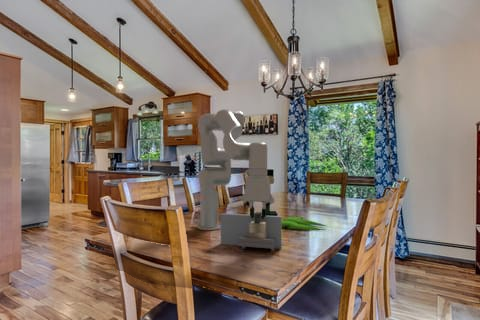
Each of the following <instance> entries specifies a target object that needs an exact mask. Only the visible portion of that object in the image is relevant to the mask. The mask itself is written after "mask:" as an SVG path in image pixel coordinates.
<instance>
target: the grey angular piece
mask: <svg viewBox="0 0 480 320" xmlns="http://www.w3.org/2000/svg"><path fill="white" fill-rule="evenodd" d="M251 221H255V214H254V218H253V219H252V218H251V216H250V214H241V213H223V212H222V213H220V225H221V228H220V245H229V246H238V247H241V249H243V250H245V249H246V248H259V249H260V248H262V249H270V251H271V252H275V249H280V250H281V249H282V248H283V245H284V242H283V241H282V228H283V227H282V221H283V219H282V216H281V215H277V216H266V217H265V218H264V219H262V214H261V221H265V222H266V239H260V238H249V223H250V222H251Z"/></svg>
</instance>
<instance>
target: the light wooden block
mask: <svg viewBox="0 0 480 320" xmlns="http://www.w3.org/2000/svg"><path fill="white" fill-rule="evenodd" d="M254 215H255V221H251V222H250V223H249V238H260V239H266V222H265V221H261V215H262V211H255V212H254Z"/></svg>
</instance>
